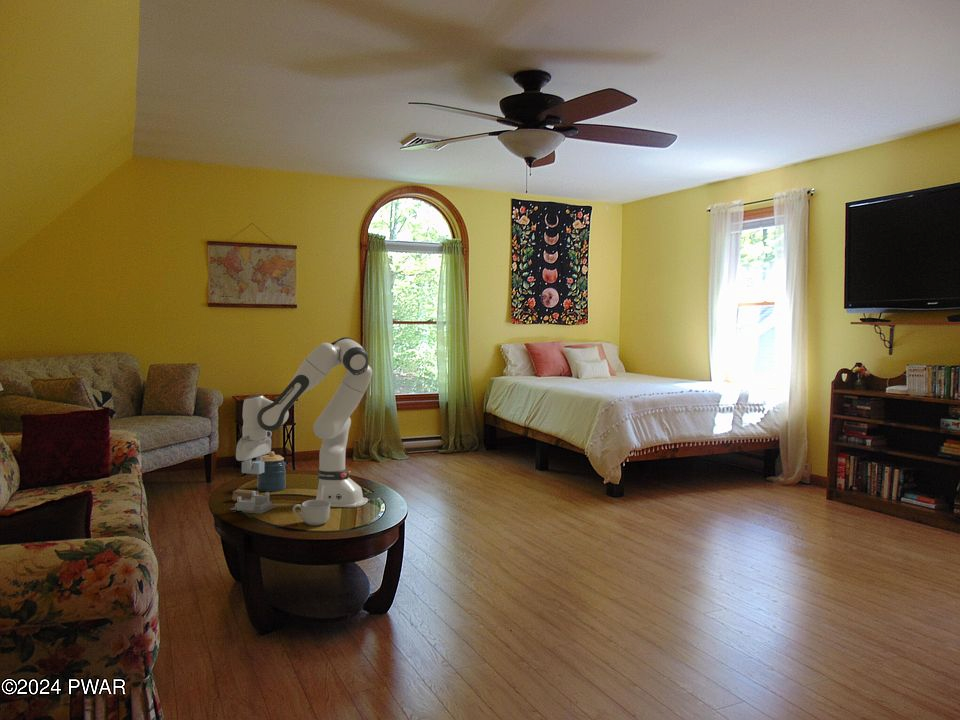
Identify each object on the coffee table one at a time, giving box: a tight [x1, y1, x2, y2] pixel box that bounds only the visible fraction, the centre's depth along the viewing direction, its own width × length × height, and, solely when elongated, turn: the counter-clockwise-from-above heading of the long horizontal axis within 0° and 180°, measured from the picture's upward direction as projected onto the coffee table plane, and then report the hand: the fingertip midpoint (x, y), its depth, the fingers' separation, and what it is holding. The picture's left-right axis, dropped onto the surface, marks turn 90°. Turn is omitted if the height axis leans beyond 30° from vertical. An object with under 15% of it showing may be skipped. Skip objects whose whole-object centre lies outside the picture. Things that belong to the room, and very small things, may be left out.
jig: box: [229, 490, 277, 515], centre depth 275 cm, size 14×12×6 cm
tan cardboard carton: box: [232, 488, 260, 501], centre depth 289 cm, size 4×10×4 cm, turn 76°
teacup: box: [292, 499, 331, 526], centre depth 256 cm, size 14×11×8 cm
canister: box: [256, 450, 287, 492], centre depth 312 cm, size 13×13×18 cm
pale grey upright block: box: [241, 460, 264, 475], centre depth 275 cm, size 8×4×4 cm, turn 76°
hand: (253, 468), depth 275 cm, fingers closed on pale grey upright block, 4 cm apart
